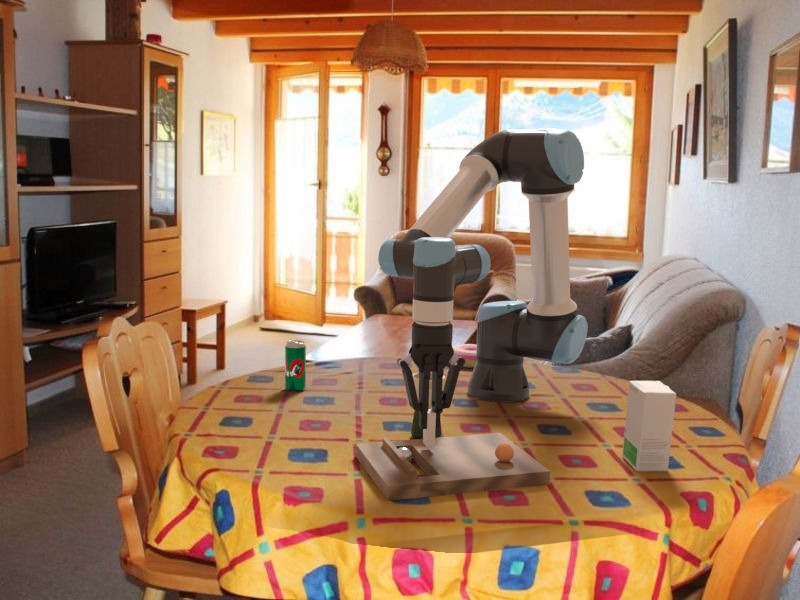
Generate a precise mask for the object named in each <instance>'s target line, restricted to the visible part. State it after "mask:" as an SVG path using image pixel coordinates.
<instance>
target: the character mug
mask: <svg viewBox="0 0 800 600" xmlns="http://www.w3.org/2000/svg"><path fill="white" fill-rule="evenodd" d="M412 374H413V379H414V384H415V388H416V393H417V398H418V400H419V372H415V373H412ZM445 382H446V376H445V375H443V378H442V393H443V390H444V386H445ZM431 399H432V372H431V375H430V378H429V409H432V407H431ZM412 417H413V418H412V424H411V429H410V430H411V432H410V434H411V436H413V437H415V438H421V439H423V429H421V428H420V427H419V411H417V410H413V416H412ZM439 437H442V424H441V421H440V427H439V428H435V438H439Z"/></svg>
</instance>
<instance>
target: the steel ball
mask: <svg viewBox="0 0 800 600" xmlns="http://www.w3.org/2000/svg"><path fill="white" fill-rule="evenodd" d="M398 450H399V451H400V452H401V453H402V454H403V456H404V457H405V458H406V459H407V460H408V461H409V462H410V463H411V462H412V460H413V458H412V452H411V451H410V450H409V449H408V448H406V447H401V448H399V449H398Z"/></svg>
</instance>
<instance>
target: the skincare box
mask: <svg viewBox="0 0 800 600" xmlns="http://www.w3.org/2000/svg"><path fill="white" fill-rule="evenodd" d="M676 401H677V392H675V391H674V390H672V389H671V388H670V386H668V385H666V384H664V383H663V382H662V381H661V380H629V381H628V393H627V402H626V413H625V422H624V423H625V424H624V432H623V433H624V434H623V435H624V436H623V444H622V451H621V452H622V454H621V455H622V458H624V459H625V460H626V462H627V463H628V465H630V466H631V467H632V468H633V469H634V470H635V471H636V472H669V466H670V465H669V463H670V457H671V456H670V454H671V448H672V447H671V446H672V437H673V436H672V435H673V427H674V419H675V412H676V411H675V409H676Z"/></svg>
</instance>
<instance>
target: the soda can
mask: <svg viewBox="0 0 800 600" xmlns="http://www.w3.org/2000/svg"><path fill="white" fill-rule="evenodd" d="M284 349H285V350H284V370H285V371H284V388H285V389H286V391H289V392H293V391H297V392H302V391H304V390H305V389H306V384H307V381H306V380H307V379H306V377H307V375H306V371H307V369H306V368H307V367H306V366H307V365H306V364H307V363H306V362H307V345H306V344H305V341H304V340H298V339H295V340H287V341H286V344H285V346H284Z"/></svg>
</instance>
